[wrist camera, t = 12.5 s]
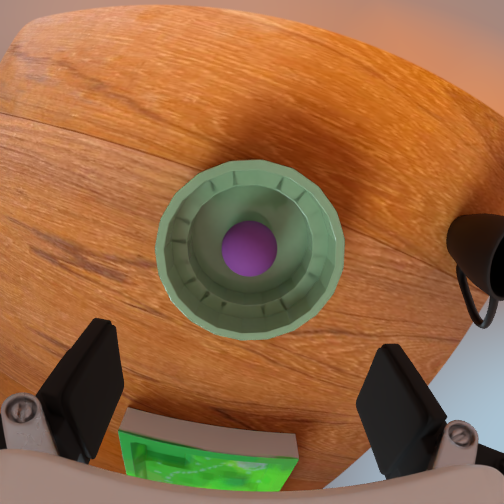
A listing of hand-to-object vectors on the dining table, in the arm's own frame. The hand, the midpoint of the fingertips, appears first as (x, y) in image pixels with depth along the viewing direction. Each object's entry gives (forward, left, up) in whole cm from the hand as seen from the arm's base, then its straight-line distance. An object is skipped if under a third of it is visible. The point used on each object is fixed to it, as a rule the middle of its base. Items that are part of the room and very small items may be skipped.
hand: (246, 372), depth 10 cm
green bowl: (+1, -1, -21) cm, 21 cm away
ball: (+1, -1, -21) cm, 21 cm away
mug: (+18, +18, -21) cm, 34 cm away
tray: (+27, -32, -21) cm, 47 cm away
